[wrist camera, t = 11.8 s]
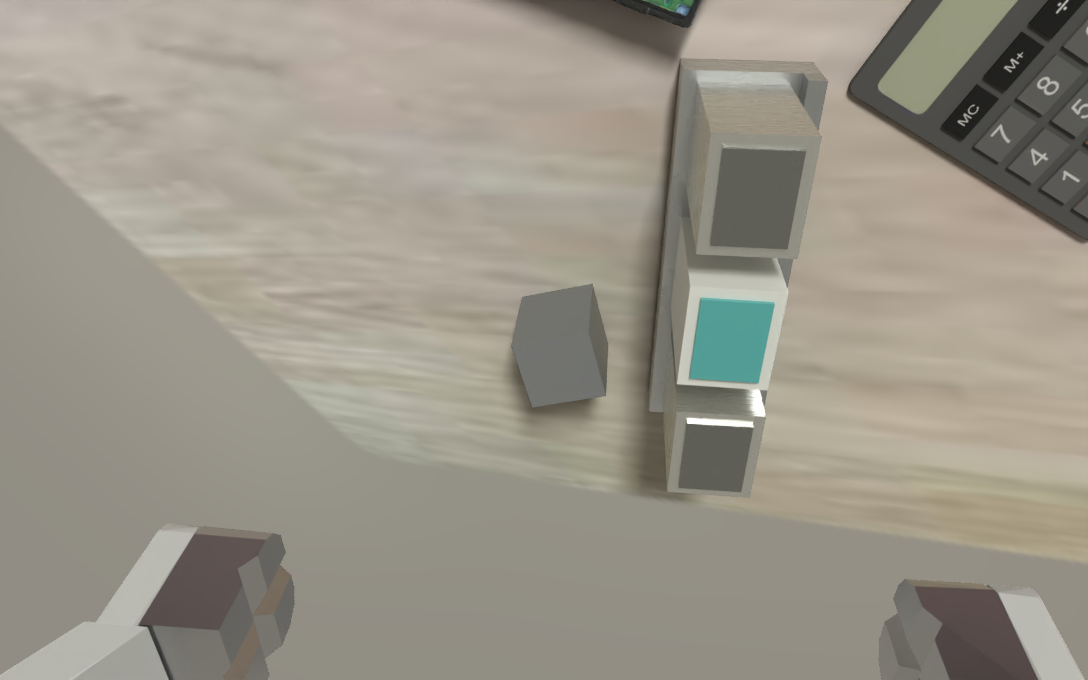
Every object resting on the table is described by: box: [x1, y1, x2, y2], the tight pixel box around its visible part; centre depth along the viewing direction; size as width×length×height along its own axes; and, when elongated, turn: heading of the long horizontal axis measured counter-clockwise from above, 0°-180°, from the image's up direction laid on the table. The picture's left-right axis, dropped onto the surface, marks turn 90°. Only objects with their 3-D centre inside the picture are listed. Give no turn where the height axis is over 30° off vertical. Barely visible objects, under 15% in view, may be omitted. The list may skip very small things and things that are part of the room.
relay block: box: [511, 284, 608, 408], centre depth 43 cm, size 4×4×5 cm
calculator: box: [849, 0, 1088, 240], centre depth 35 cm, size 12×1×15 cm
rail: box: [649, 59, 828, 498], centre depth 38 cm, size 6×19×9 cm, turn 0°
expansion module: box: [670, 217, 789, 390], centre depth 37 cm, size 4×5×7 cm
